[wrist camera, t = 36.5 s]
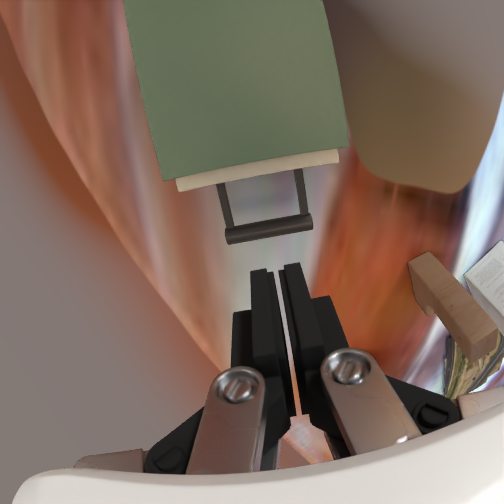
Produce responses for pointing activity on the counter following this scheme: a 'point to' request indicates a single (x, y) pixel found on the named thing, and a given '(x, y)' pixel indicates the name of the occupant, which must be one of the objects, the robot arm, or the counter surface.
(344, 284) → the counter surface
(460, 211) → the counter surface
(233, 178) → the drawer
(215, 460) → the robot arm
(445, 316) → the wooden block
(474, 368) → the aerial photo print
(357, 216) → the counter surface
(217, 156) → the cabinet
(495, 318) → the small box
